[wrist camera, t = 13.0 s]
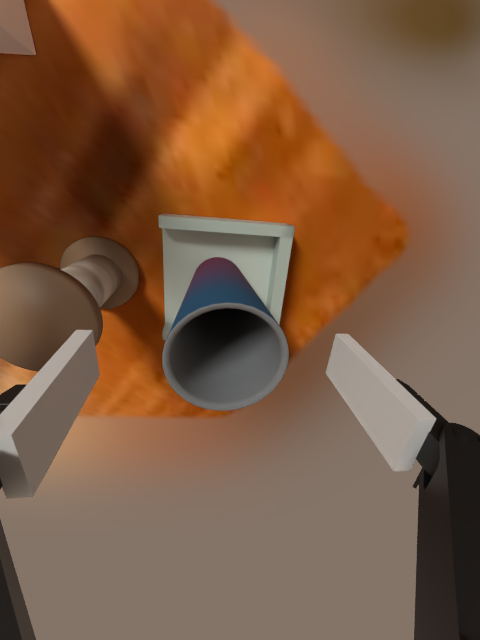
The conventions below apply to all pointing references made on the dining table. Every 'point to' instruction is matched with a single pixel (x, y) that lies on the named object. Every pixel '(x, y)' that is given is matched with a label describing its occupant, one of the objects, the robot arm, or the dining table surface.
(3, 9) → the milk
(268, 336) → the cup
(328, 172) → the dining table surface
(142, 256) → the dining table surface
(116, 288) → the doorknob
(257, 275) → the square tray
